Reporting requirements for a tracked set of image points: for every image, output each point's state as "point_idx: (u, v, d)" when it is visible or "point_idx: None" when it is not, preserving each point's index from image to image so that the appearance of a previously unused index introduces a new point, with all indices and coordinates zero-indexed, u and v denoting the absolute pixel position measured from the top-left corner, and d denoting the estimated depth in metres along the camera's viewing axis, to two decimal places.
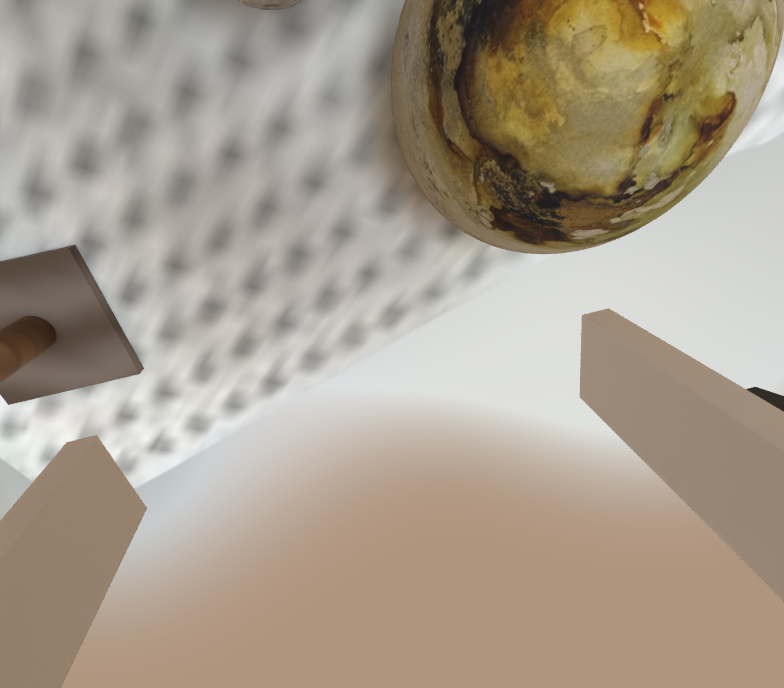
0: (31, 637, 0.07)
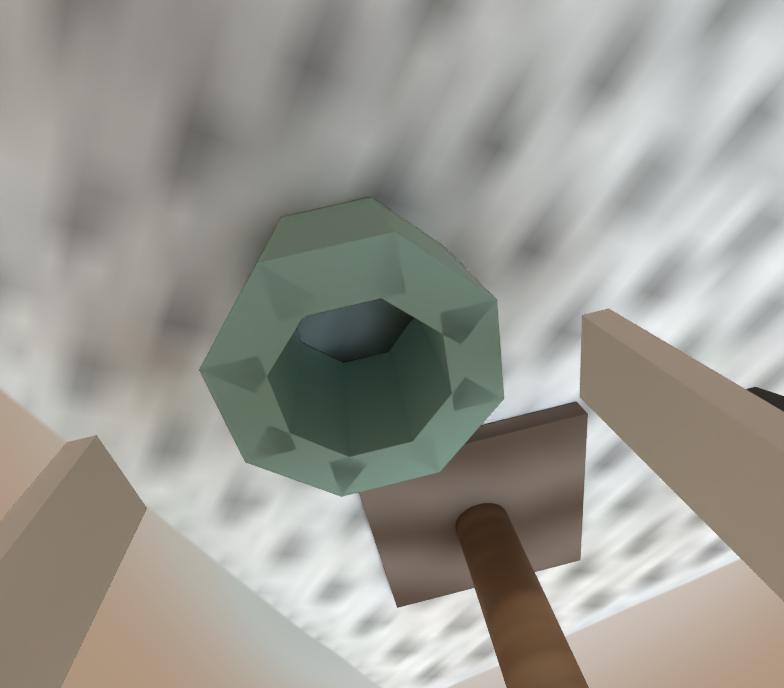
0: (30, 637, 0.07)
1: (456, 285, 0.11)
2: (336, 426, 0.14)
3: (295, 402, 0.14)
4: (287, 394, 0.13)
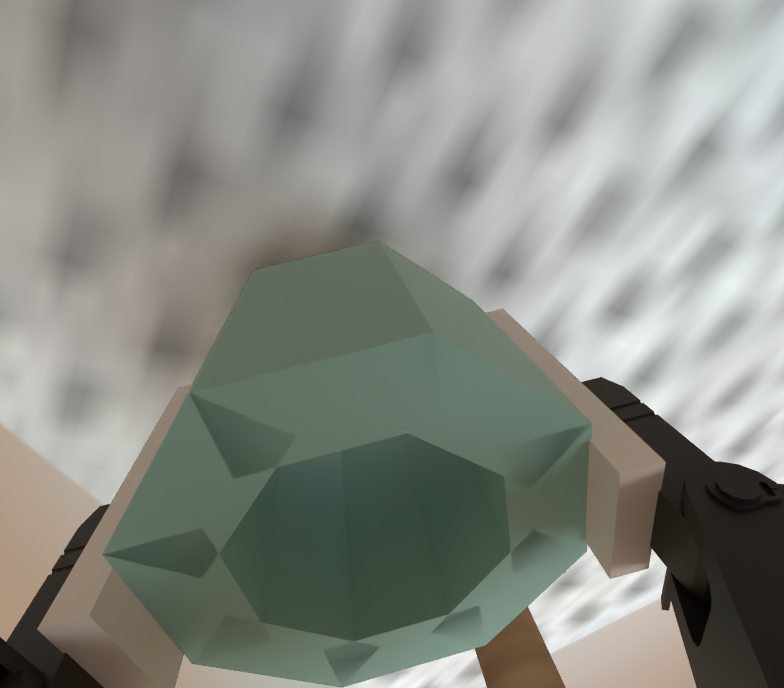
0: None
1: (530, 407, 0.07)
2: (333, 579, 0.10)
3: (272, 548, 0.09)
4: (259, 546, 0.09)
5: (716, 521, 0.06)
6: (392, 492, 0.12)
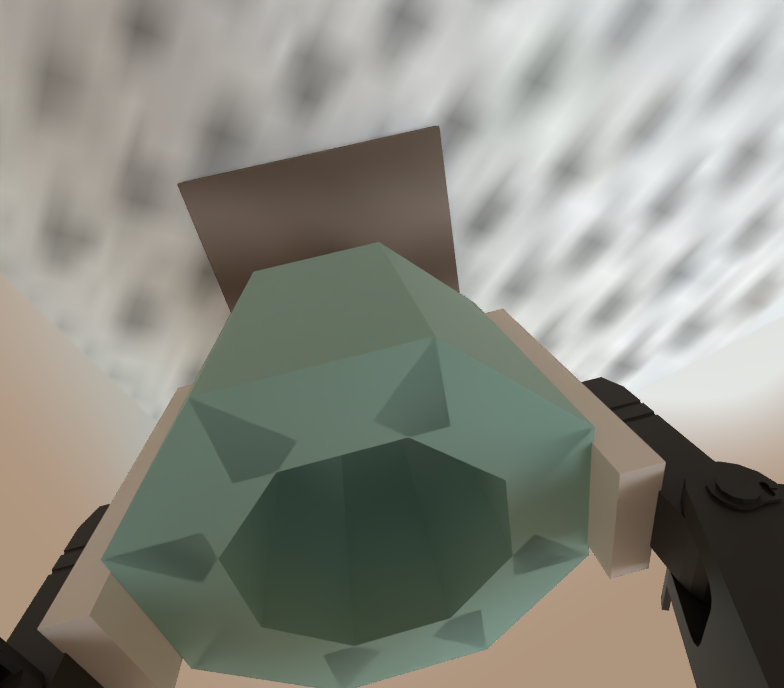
0: None
1: (533, 411, 0.06)
2: (333, 583, 0.09)
3: (272, 552, 0.09)
4: (259, 550, 0.09)
5: (716, 522, 0.06)
6: (392, 495, 0.12)
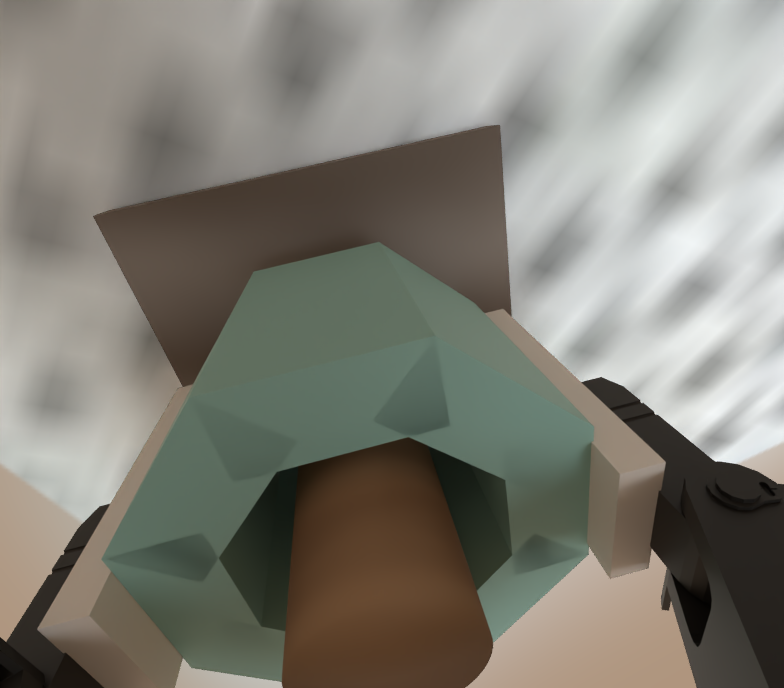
0: None
1: (532, 410, 0.06)
2: None
3: (272, 551, 0.09)
4: (259, 549, 0.09)
5: (716, 521, 0.06)
6: None
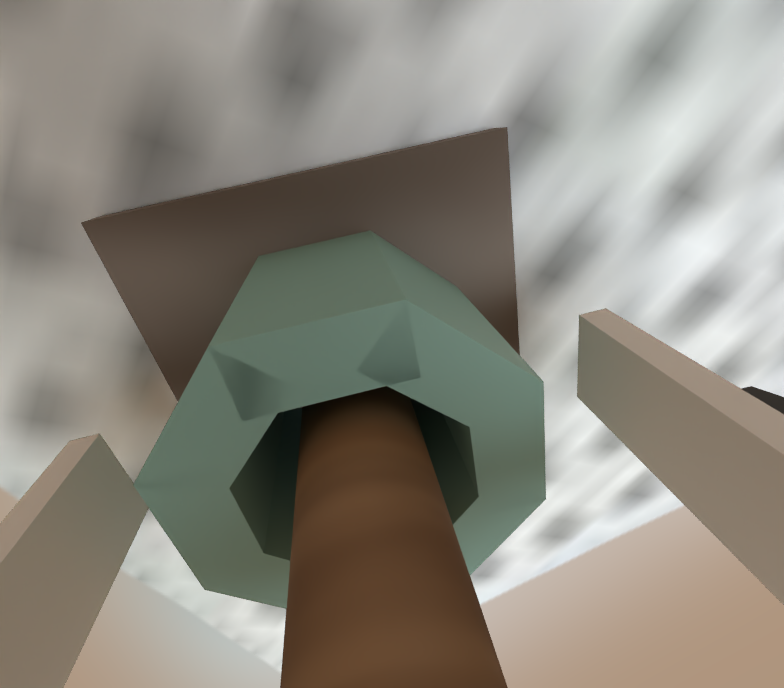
0: (35, 633, 0.07)
1: (490, 366, 0.08)
2: None
3: (273, 498, 0.11)
4: (262, 493, 0.10)
5: None
6: None
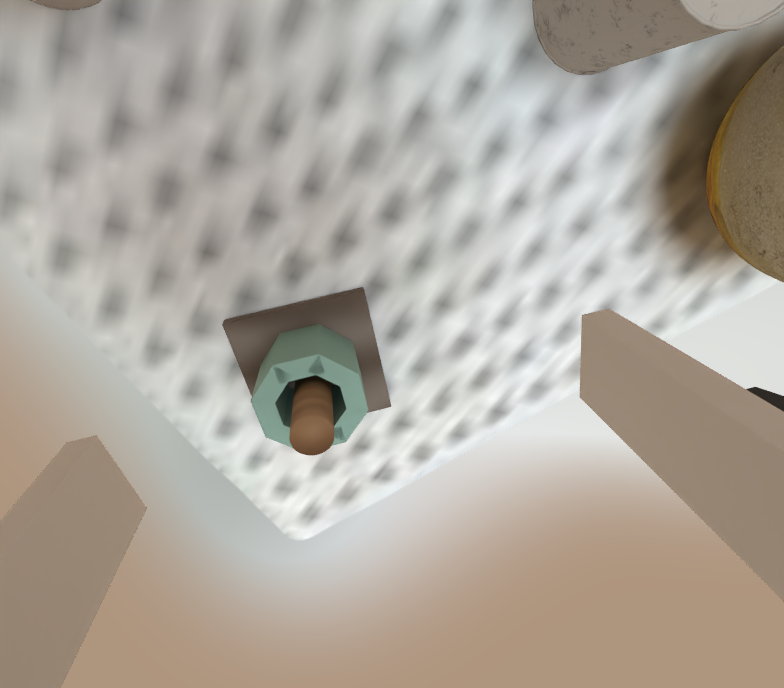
0: (30, 637, 0.07)
1: (342, 369, 0.30)
2: None
3: (285, 413, 0.33)
4: (282, 410, 0.32)
5: None
6: None
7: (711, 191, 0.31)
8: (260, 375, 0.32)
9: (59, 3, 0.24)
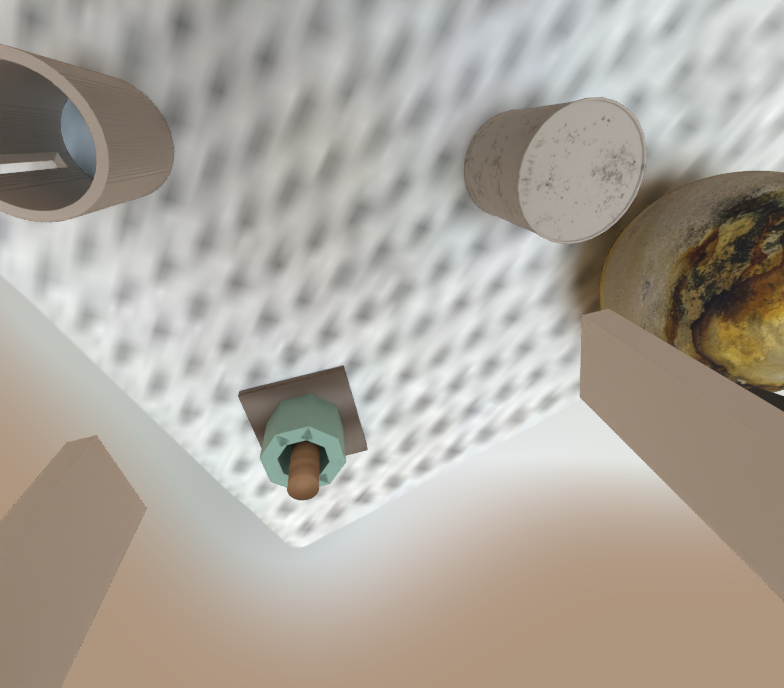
0: (30, 637, 0.07)
1: (326, 436, 0.42)
2: None
3: (285, 463, 0.45)
4: (282, 461, 0.44)
5: None
6: None
7: (600, 305, 0.42)
8: (266, 436, 0.44)
9: None
